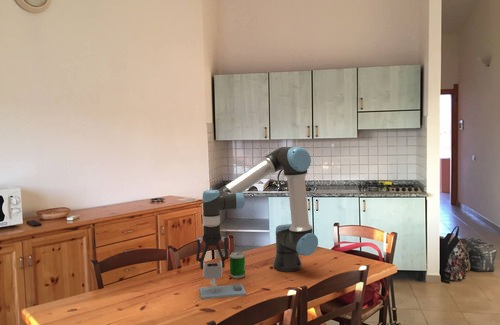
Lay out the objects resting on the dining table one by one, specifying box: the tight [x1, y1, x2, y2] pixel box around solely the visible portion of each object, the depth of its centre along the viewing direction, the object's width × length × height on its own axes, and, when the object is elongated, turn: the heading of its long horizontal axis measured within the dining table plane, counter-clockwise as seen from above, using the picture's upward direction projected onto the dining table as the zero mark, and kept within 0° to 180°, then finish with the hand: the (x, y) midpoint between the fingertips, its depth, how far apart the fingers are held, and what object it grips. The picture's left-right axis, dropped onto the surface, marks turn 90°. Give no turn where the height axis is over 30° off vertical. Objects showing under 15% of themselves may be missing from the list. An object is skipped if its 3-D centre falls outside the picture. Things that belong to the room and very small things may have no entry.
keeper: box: [199, 278, 247, 300], centre depth 192 cm, size 20×12×8 cm, turn 100°
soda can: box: [229, 251, 246, 280], centre depth 213 cm, size 8×8×12 cm
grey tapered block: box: [204, 261, 222, 280], centre depth 191 cm, size 7×7×5 cm
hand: (212, 275), depth 191 cm, fingers closed on grey tapered block, 7 cm apart
